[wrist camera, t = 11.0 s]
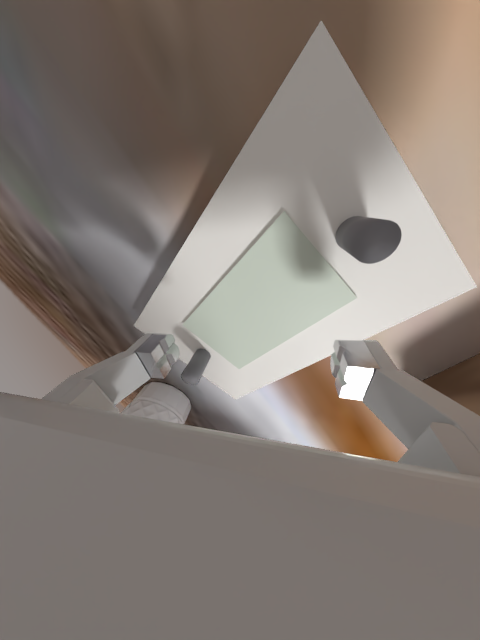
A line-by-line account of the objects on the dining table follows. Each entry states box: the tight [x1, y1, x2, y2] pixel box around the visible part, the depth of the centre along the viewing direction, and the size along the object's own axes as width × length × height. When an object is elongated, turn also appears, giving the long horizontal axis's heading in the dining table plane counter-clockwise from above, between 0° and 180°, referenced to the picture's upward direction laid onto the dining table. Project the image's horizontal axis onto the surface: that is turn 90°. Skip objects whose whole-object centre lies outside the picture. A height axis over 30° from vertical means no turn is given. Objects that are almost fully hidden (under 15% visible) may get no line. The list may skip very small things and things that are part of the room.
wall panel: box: [134, 21, 477, 400], centre depth 11 cm, size 18×12×4 cm, turn 138°
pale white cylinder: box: [121, 382, 191, 424], centre depth 19 cm, size 8×8×10 cm
